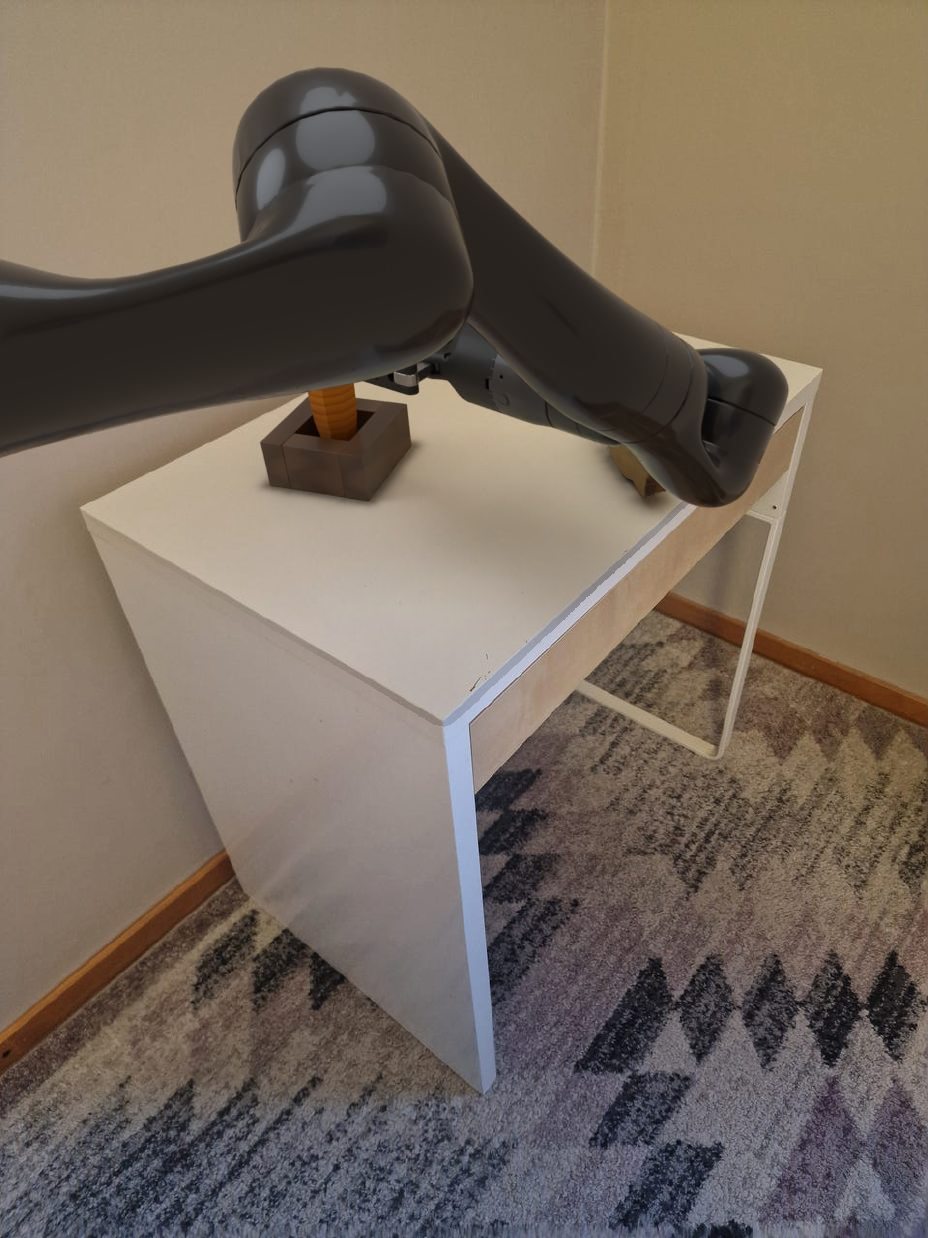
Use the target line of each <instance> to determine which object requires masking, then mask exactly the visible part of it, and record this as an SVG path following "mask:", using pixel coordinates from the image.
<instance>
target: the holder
mask: <svg viewBox="0 0 928 1238" xmlns="http://www.w3.org/2000/svg"><path fill="white" fill-rule="evenodd" d="M356 409H357V427H356V435H355V436H354V437H353V438H352V439H351V440H350V441H343V440H336V439H329V438H322V437H321V436H320V434H319V432H318V429H317V426H316V423H315V421H314V417H313V413H312V409H311V405H310V400H309V396H307V397H306V398H304V399H303V400H302V401H301V402H300V403H299V404H298V405H297V406H296V407H295V408H294V409H293V410H292V411H291V412H290V413H288V415H287V416H286V417H284V418H283V419H282V420H281V422H279V424H277V425H276V426H275V427H274V428H273V429H272V430H271V431H270V432H269V433H267V434H266V436H264V437H263V438H262V440H260V441H259V444H260V449H261V453H262V458H263V462H264V466H265V471H266V475H267V478H268V482H269V485H270V486H273V487H280V488H286V489H293V490H300V491H305V492H310V493H316V494H317V493H318V494H322V495H328V496H329V495H330V496H336V497H340V498H341V497H342V498H347V499H352V500H360V501H365V502H369V501H370V499H371V498H372V497H373V496H374V494H375V493H376V492H377V491H378V490H379V488H380V487H381V485H383V483H384V482H385V480H386V479H387V478H388V477H389V475H390V474H391V473H392V472H393V470H394V469H395V468H396V466H397V465H398V464H399V463H400V461H401V460H402V459H403V458H404V457H405V454H407V452H409V450H410V449H411V448H412V437H411V429H410V418H409V409H408V404H407V403H403V402H395V401H387V400H386V401H385V400H378V399H369V398H362V397H356Z"/></svg>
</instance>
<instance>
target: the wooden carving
mask: <svg viewBox="0 0 928 1238" xmlns="http://www.w3.org/2000/svg"><path fill="white" fill-rule="evenodd" d="M606 447H607V449H608V451H609V454H610V456H611V458H612V460H613V462H614V464H615V466H616V467H617V469H618V470H619V472H620V473H621V474H622V475H623V476H624V477H625V478H626V479H628V480H632V482H633V483H634V485H635V487H636V489H637V491H638V493H639V494H640V496H641V497H642V498H650V497H653V496H656V495H657V494H659V493H665V492H667V490H665V489H664V488H663V487H662V486H661V485H660V484H659V483H658V482H657V481H656V480H655V479H654V478H653V477H652V476H651V475H650V474H649V473H648V471H647V470H646V469H645V468H644V466H643V465H642V464H641V462H640V461H639V460H638V459H637V458H636V456H635V455H634V454H633V453H632V452H631V451H630V450H629V449H628V448H627V447H626V446H625V445H622V446H617V447H612V446H606Z"/></svg>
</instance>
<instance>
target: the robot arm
mask: <svg viewBox="0 0 928 1238" xmlns="http://www.w3.org/2000/svg"><path fill="white" fill-rule="evenodd" d="M231 153H232V154H231V155H232V157H231V159H232V160H231V175H232V176H231V177H232V190H233V191H232V192H233V199H234V200H233V201H234V207H235V212H236V221H237V227H238V228H237V229H238V234H239V242H240V243H238V244H236V245H234V246H230V247H228V248H225V249H224V250H223V249H222V250H221V251H218V252H216V253H213V254H210V255H206V256H204V257H200V258H196V259H194V260H190V261H188V262H184V263H180V264H176V265H172V266H167V267H163V268H158V269H155V270H150V271H146V272H142V273H138V274H131V275H125V276H124V275H123V276H118V277H116V276H115V277H104V278H103V277H100V278H99V277H98V278H97V277H96V278H89V277H79V276H69V275H65V274H60V273H55V272H51V271H46V270H42V269H39V268H35V267H32V266H27V265H24V264H20V263H16V262H12V261H9V260H5V259H3V258H2V259H1V258H0V459H3V458H6V457H8V456H12V455H15V454H18V453H19V454H20V453H22V452H26V451H29V450H32V449H36V448H41V447H44V446H47V445H51V444H55V443H59V442H63V441H68V440H71V439H75V438H81V437H83V436H87V435H93V434H96V433H99V432H104V431H108V430H112V429H116V428H120V427H126V426H128V425H134V424H137V423H142V422H145V421H150V420H155V419H159V418H163V417H168V416H172V415H178V414H183V413H189V412H195V411H200V410H205V409H206V410H207V409H213V408H218V407H219V408H220V407H224V406H230V405H236V404H242V403H249V402H255V401H256V402H257V401H260V400H267V399H273V398H274V399H275V398H279V397H286V396H292V395H297V394H304V393H308V392H310V391H316V390H321V389H327V388H332V387H338V386H344V385H348V384H353V383H354V384H357V383H362V382H364V383H366V384H370V385H373V386H377V387H380V388H383V389H386V390H389V391H392V392H396V393H399V394H403V395H405V396H415V395H418V394H419V393H420V382H421V383H422V381H424V380H426V379H430V380H437V381H447V382H448V383H449V384H450V386H452V388H453V389H454V390H455V392H456V394H458V396H459V397H460V398H461V399H462V400H464V401H465V402H468V403H469V404H472V405H475V406H478V407H481V408H485V409H487V410H490V411H493V412H496V413H499V414H503V415H505V416H508V417H510V418H514V419H516V420H518V421H521V422H525V423H528V424H531V425H535V426H539V427H546V428H551V429H556V430H559V431H562V432H565V433H567V434H571V435H573V436H575V437H578V438H581V439H584V440H587V441H590V442H594V443H596V444H599V445H602V446H606V447H607V446H612V447H617V446H622V445H625V446H626V447H627V448H628V449H629V450H630V451H631V452H632V453H633V454H634V455H635V456H636V458H637V459H638V460H639V461H640V462H641V464H642V465H643V466H644V468H645V469H646V470H647V471H648V473H649V474H650V475H651V476H652V477H653V478H654V479H655V480H656V481H657V482H658V483H659V484H660V485H661V486H662V487H663V488H664V489H665V490H666V492H668V493H669V494H670V495H672V496H674V497H675V498H677V499H678V500H680V501H682V502H684V503H687V504H689V505H691V506H695V507H699V508H705V509H715V508H721V507H725V506H728V505H730V504H732V503H734V502H736V501H738V500H739V499H740V498H741V497H742V496H743V495H745V493H747V491H748V490H749V488H750V486H751V485H752V482H753V480H754V478H755V476H756V473H757V471H758V469H759V465H760V464H761V462H762V459H763V457H764V455H765V452H766V450H767V449H768V445H769V444H770V441H771V440H772V436H773V434H774V433H775V430H776V426H777V425H778V423H779V421H780V418H781V416H782V414H783V412H784V409H785V407H786V404H787V402H788V397H789V391H790V390H789V383H788V379H787V377H786V375H785V374H784V372H783V371H782V369H781V368H780V367H779V366H778V365H777V364H776V363H775V362H774V361H773V360H771V359H770V358H768V357H767V356H765V355H763V354H762V353H758V352H756V351H753V350H750V349H749V350H748V349H744V348H736V347H707V348H695V347H693V346H692V345H691V344H690V343H689V342H687V341H686V340H684V339H683V338H682V337H679V336H678V335H677V334H675V333H674V332H672V331H671V330H669V328H666V327H665V326H664V325H662V324H661V323H659V322H658V321H656V320H654V319H653V318H651V317H650V316H648V315H647V314H646V313H644V312H642V311H641V310H639V309H637V308H636V307H635V306H632V305H631V304H630V303H629V302H627V301H625V300H624V299H622V298H621V297H620V296H619V295H617V294H616V293H614V292H613V291H611V290H610V289H609V288H607V287H606V286H605V285H604V284H602V283H601V282H600V281H598V280H597V279H596V278H594V277H593V276H592V275H590V274H589V273H588V272H587V271H586V270H584V269H583V268H582V267H581V266H579V265H578V264H577V263H576V262H575V261H574V260H572V259H571V258H570V257H568V255H567V254H565V253H564V252H563V251H561V250H560V248H558V247H557V246H555V244H553V242H551V241H550V240H549V239H548V238H546V237H545V236H544V235H543V234H542V233H541V232H540V231H539V230H538V229H537V228H535V227H534V226H533V225H532V224H531V223H530V222H529V221H528V220H527V219H526V218H525V217H524V216H523V215H522V214H521V213H519V212H518V211H517V210H516V209H515V208H514V207H513V206H512V205H511V204H510V203H508V201H507V200H505V199H504V198H503V197H502V196H501V195H500V194H499V193H498V191H496V190H495V189H494V188H493V187H492V186H491V185H490V184H489V183H488V182H487V181H486V180H485V179H484V178H483V177H482V176H481V175H480V174H479V173H478V172H477V171H476V170H475V168H473V167H472V165H471V164H469V162H468V161H467V160H466V159H465V158H464V156H462V155H461V154H460V152H458V150H456V148H455V147H454V146H453V145H452V144H451V142H449V140H447V139H446V137H444V135H443V134H441V132H440V131H439V130H438V129H437V128H436V127H435V126H434V125H433V124H432V123H431V122H430V121H429V119H427V118H426V117H425V116H424V115H423V114H422V113H421V112H420V111H419V110H418V109H417V108H416V107H415V106H414V105H413V104H412V103H411V102H410V101H409V100H408V99H407V98H406V97H404V96H403V95H402V94H401V93H400V92H398V91H397V90H396V89H394V88H393V87H391V86H390V85H389V84H387V83H385V82H383V81H381V80H380V79H378V78H375V77H373V76H371V75H368V74H367V73H363V72H359V71H356V70H352V69H348V68H344V67H326V66H325V67H323V66H316V67H312V68H307V69H300V70H296V71H294V72H292V73H289V74H287V75H285V76H282V77H280V78H278V79H276V80H275V81H273V82H272V83H271V84H269V85H267V87H265V88H264V89H263V90H261V91H260V92H259V93H258V94H257V96H256V97H255V98H254V100H252V102H250V104H249V105H248V106H247V108H246V109H245V111H244V112H243V114H242V116H241V118H240V120H239V123H238V125H237V128H236V132H235V136H234V140H233V145H232V152H231Z"/></svg>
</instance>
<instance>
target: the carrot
mask: <svg viewBox="0 0 928 1238" xmlns="http://www.w3.org/2000/svg"><path fill="white" fill-rule="evenodd" d="M307 395H308V396H309V400H310V405H311V409H312V413H313V417H314V421H315V423H316V426H317V429H318V432H319V434H320V436H321V437H322V438H329V439H336V440H343V441H350V440H351V439H352V438H353V437H354V436H355V435H356V427H357V409H356V398H357V397H356V389H355V383H353V384H348V385H344V386H338V387H332V388H327V389H321V390H316V391H310V392H307ZM308 396H307V397H308Z"/></svg>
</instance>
